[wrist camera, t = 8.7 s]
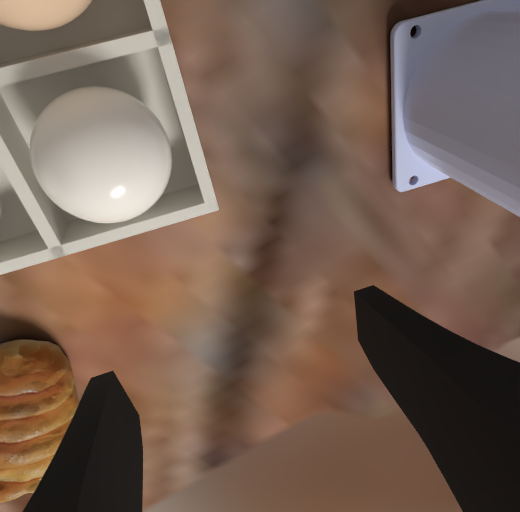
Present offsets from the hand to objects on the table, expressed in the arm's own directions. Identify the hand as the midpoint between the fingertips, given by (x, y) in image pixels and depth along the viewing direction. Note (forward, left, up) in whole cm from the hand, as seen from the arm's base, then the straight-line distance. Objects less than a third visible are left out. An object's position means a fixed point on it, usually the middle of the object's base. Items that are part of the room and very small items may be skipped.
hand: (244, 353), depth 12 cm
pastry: (+13, +8, -10) cm, 19 cm away
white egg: (+3, -5, -10) cm, 11 cm away
